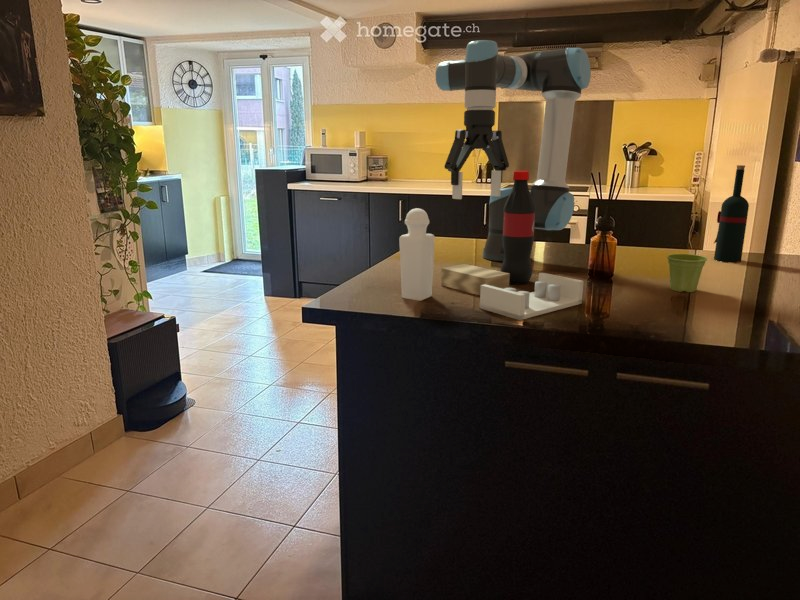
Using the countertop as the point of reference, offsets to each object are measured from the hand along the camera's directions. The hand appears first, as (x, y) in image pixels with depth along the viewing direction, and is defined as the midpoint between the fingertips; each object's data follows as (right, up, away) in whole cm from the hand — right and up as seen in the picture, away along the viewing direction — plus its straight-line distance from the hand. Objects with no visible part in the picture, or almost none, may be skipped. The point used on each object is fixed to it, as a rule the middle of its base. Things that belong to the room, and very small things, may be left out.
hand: (476, 197), depth 148 cm
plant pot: (+54, -24, +4) cm, 59 cm away
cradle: (+11, -27, -11) cm, 32 cm away
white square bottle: (-15, -26, -3) cm, 30 cm away
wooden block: (0, -23, +6) cm, 24 cm away
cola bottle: (+13, -21, +13) cm, 28 cm away
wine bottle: (+86, -13, +42) cm, 97 cm away
